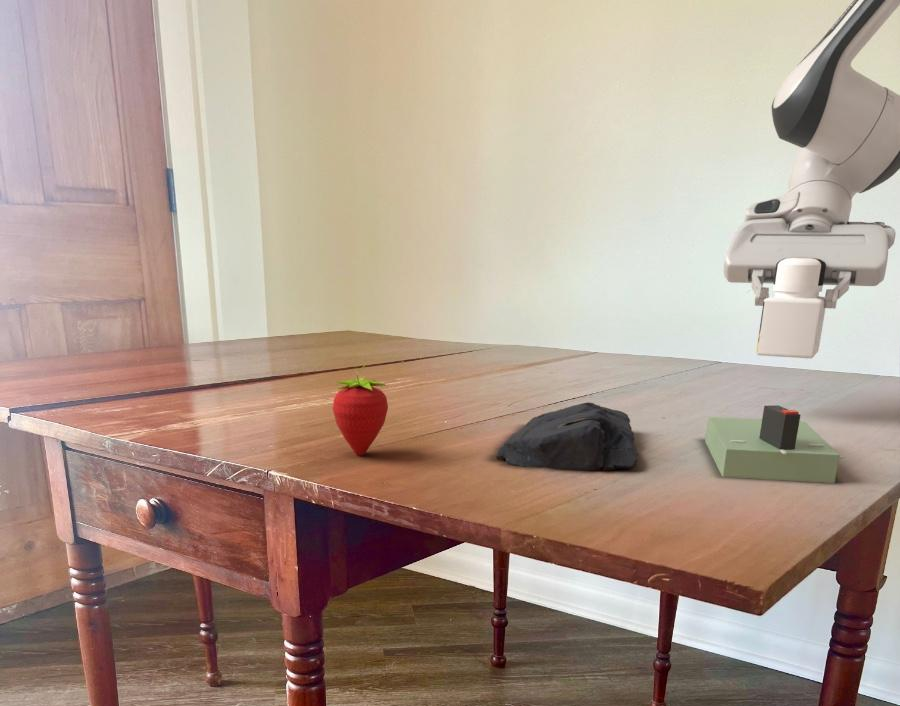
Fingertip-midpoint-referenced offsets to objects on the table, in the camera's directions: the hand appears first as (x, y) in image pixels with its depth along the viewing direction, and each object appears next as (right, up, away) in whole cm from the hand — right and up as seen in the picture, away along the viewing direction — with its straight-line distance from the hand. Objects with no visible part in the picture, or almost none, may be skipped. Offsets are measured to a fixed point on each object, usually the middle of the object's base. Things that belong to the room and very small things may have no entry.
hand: (794, 303), depth 113 cm
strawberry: (-55, -23, -17) cm, 62 cm away
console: (-10, -23, -17) cm, 30 cm away
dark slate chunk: (-31, -21, -12) cm, 39 cm away
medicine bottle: (0, -6, +3) cm, 7 cm away
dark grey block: (-11, -22, -23) cm, 34 cm away
